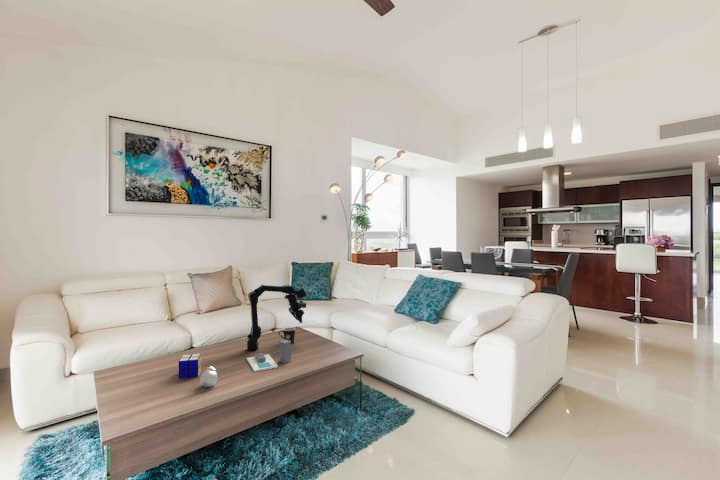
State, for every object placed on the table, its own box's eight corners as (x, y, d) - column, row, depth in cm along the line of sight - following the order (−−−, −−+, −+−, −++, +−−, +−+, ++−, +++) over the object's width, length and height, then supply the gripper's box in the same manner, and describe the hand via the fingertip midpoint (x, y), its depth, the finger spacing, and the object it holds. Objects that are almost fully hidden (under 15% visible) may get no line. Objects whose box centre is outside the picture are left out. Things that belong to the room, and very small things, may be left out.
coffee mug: (297, 342, 253) (297, 328, 253) (289, 345, 246) (289, 331, 245) (286, 339, 259) (286, 326, 259) (277, 342, 252) (277, 329, 252)
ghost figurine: (222, 384, 184) (222, 366, 184) (206, 391, 176) (206, 372, 175) (211, 380, 189) (211, 362, 188) (196, 387, 180) (195, 368, 180)
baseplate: (246, 359, 219) (246, 354, 219) (268, 355, 226) (268, 350, 226) (254, 372, 200) (254, 366, 200) (278, 367, 207) (278, 361, 207)
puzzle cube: (178, 379, 190) (178, 361, 190) (182, 371, 200) (182, 354, 199) (198, 377, 193) (198, 359, 193) (201, 370, 202) (201, 353, 202)
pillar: (279, 361, 217) (279, 341, 216) (285, 358, 221) (285, 339, 220) (284, 363, 214) (284, 343, 213) (290, 360, 218) (290, 341, 217)
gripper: (307, 300, 244) (313, 320, 247) (299, 295, 261) (305, 314, 264) (292, 306, 240) (299, 326, 242) (285, 301, 256) (291, 320, 259)
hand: (299, 321), depth 252 cm, fingers open, 9 cm apart
